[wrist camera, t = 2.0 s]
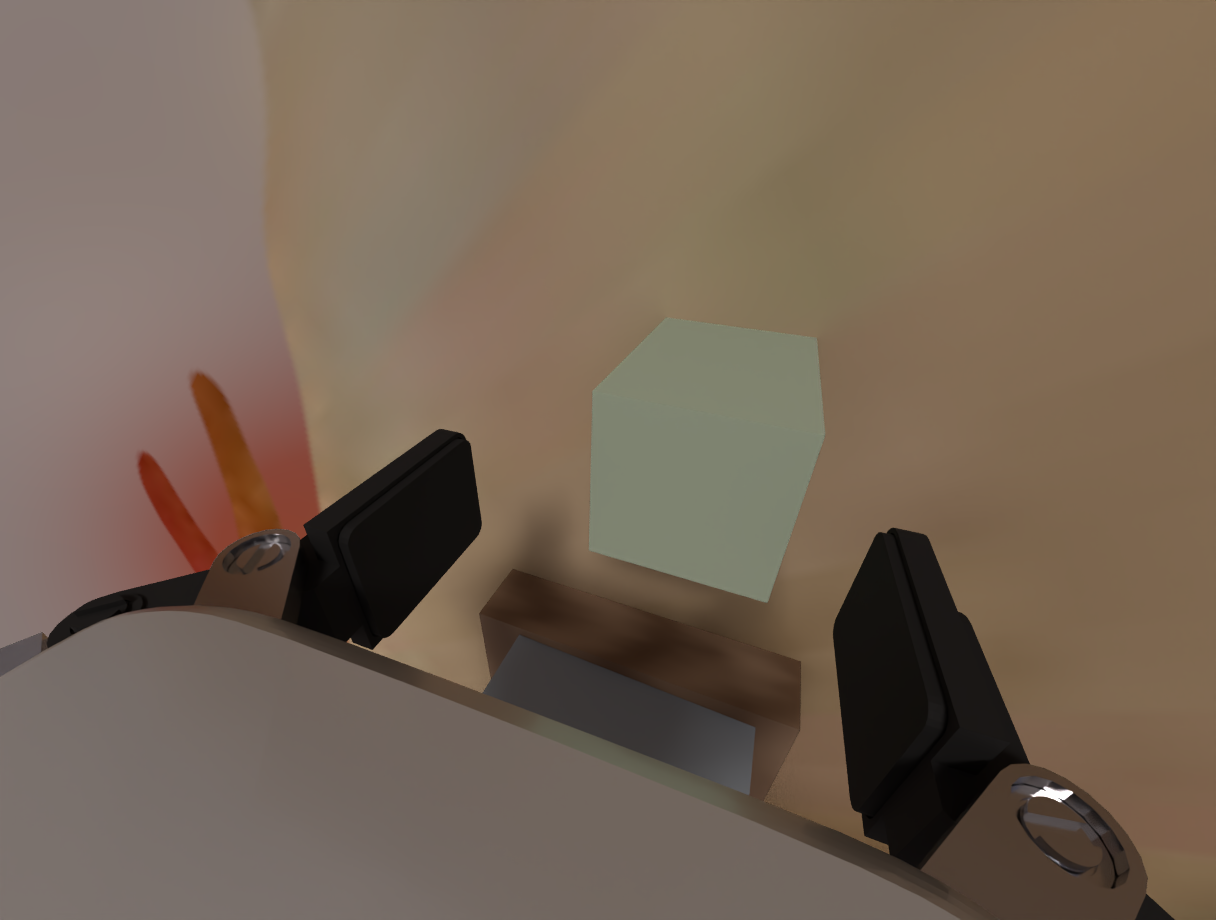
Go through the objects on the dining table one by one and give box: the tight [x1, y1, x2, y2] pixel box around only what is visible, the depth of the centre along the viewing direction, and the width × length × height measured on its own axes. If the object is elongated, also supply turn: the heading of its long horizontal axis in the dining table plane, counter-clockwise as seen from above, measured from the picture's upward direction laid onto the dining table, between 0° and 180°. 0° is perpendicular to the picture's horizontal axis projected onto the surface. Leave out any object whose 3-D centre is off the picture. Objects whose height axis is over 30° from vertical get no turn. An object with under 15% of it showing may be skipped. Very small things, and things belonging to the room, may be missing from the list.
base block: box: [479, 569, 801, 801], centre depth 28 cm, size 16×18×4 cm
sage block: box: [589, 317, 825, 603], centre depth 14 cm, size 5×5×7 cm
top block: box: [483, 635, 756, 795], centre depth 25 cm, size 12×16×4 cm
